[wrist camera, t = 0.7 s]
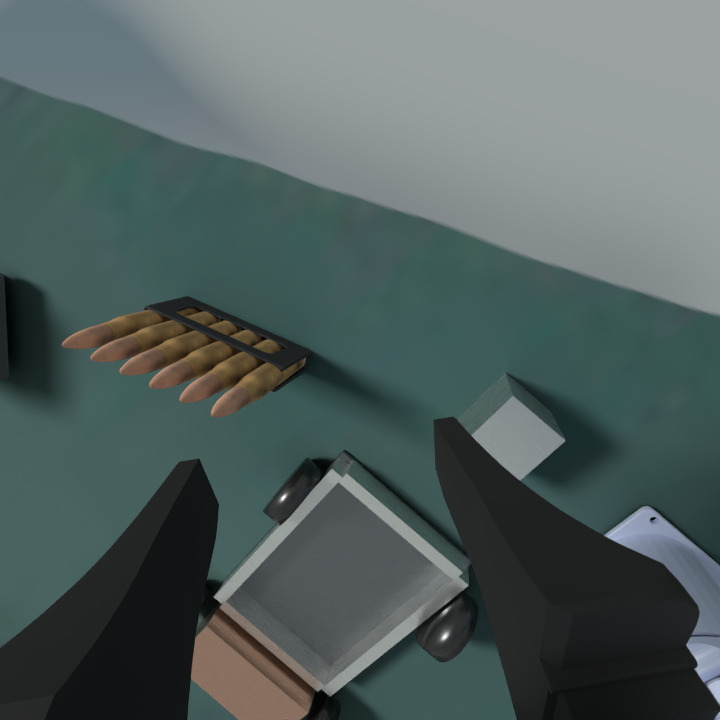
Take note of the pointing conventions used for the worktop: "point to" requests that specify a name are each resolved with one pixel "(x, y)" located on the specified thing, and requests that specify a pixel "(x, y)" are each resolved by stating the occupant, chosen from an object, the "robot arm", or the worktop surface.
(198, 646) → the chassis
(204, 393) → the ammunition clip
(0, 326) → the toy truck
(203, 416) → the worktop surface
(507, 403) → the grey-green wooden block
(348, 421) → the worktop surface
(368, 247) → the worktop surface
